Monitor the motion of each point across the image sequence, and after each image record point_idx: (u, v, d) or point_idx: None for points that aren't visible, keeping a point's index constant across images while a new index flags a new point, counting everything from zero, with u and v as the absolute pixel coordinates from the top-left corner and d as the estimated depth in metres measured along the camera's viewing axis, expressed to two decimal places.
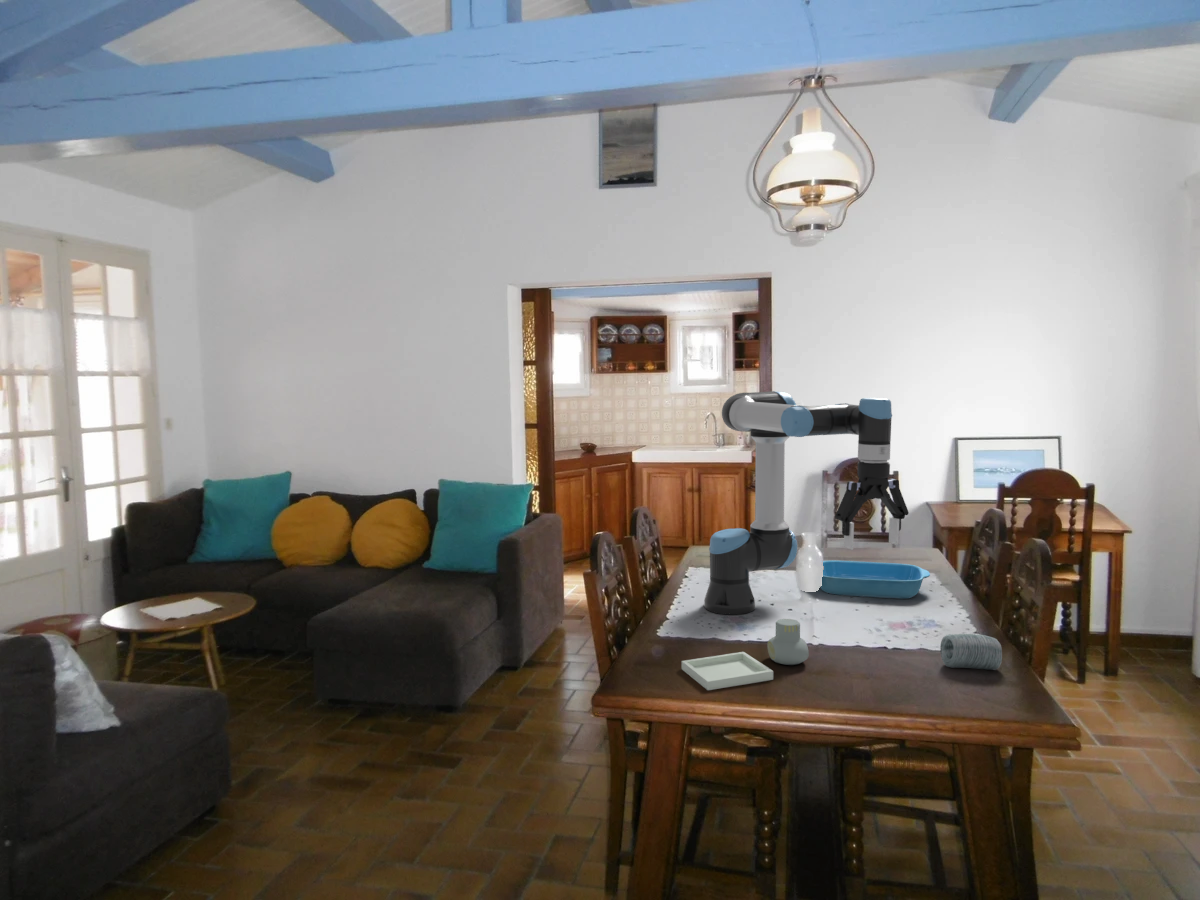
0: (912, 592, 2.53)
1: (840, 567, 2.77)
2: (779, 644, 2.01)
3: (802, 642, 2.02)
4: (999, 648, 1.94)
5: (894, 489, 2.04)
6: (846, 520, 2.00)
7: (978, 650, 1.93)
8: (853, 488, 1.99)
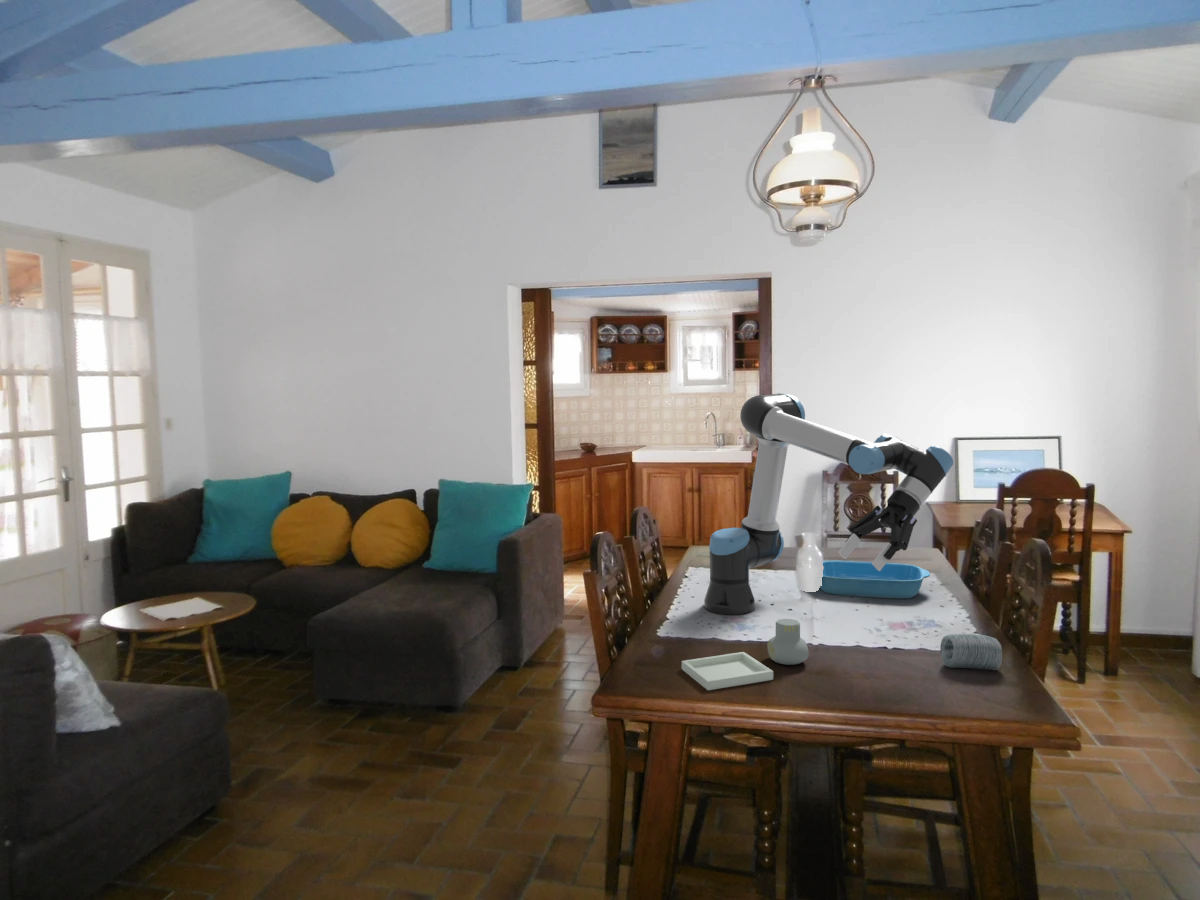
0: (912, 592, 2.53)
1: (840, 567, 2.77)
2: (779, 644, 2.01)
3: (802, 642, 2.02)
4: (999, 648, 1.94)
5: None
6: None
7: (978, 650, 1.93)
8: None
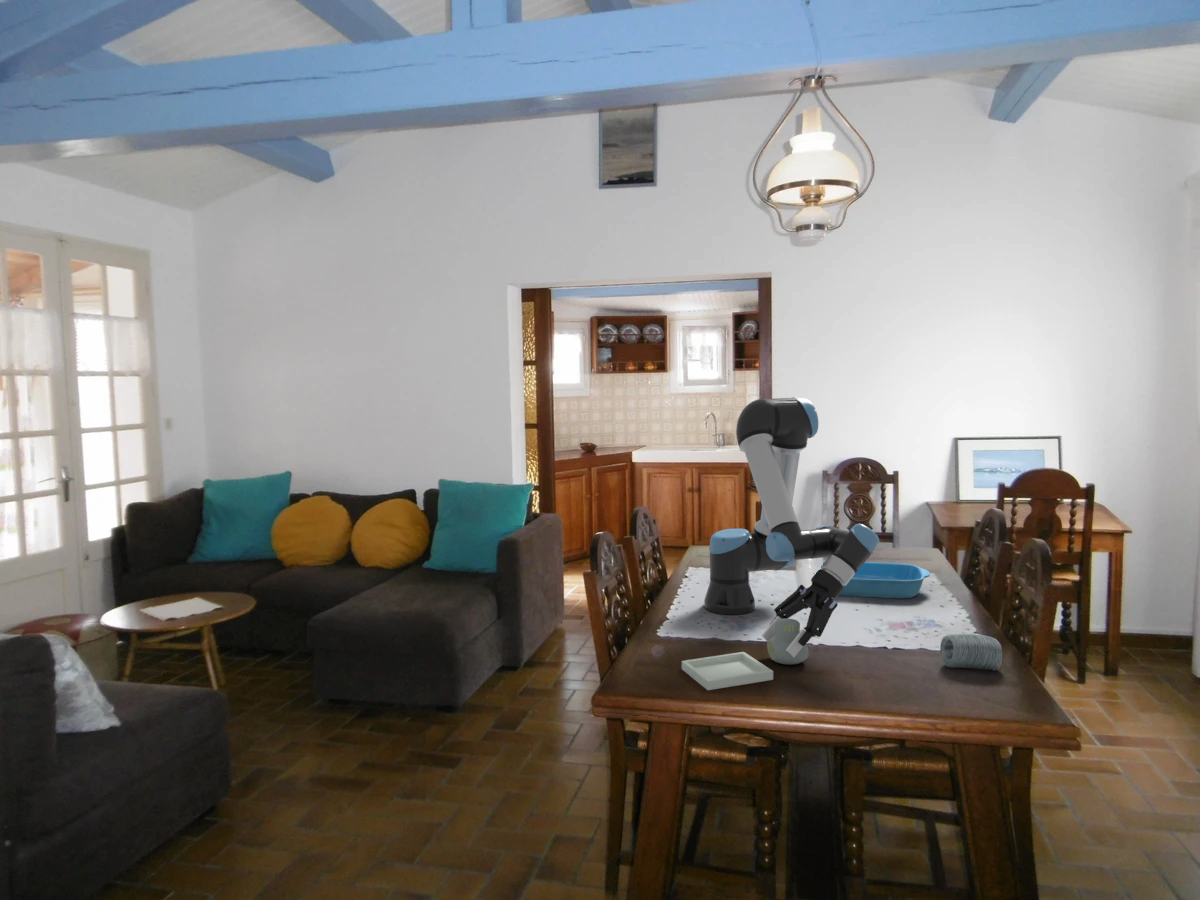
0: (913, 592, 2.53)
1: None
2: (779, 643, 2.01)
3: None
4: (999, 648, 1.94)
5: None
6: None
7: (978, 650, 1.93)
8: None
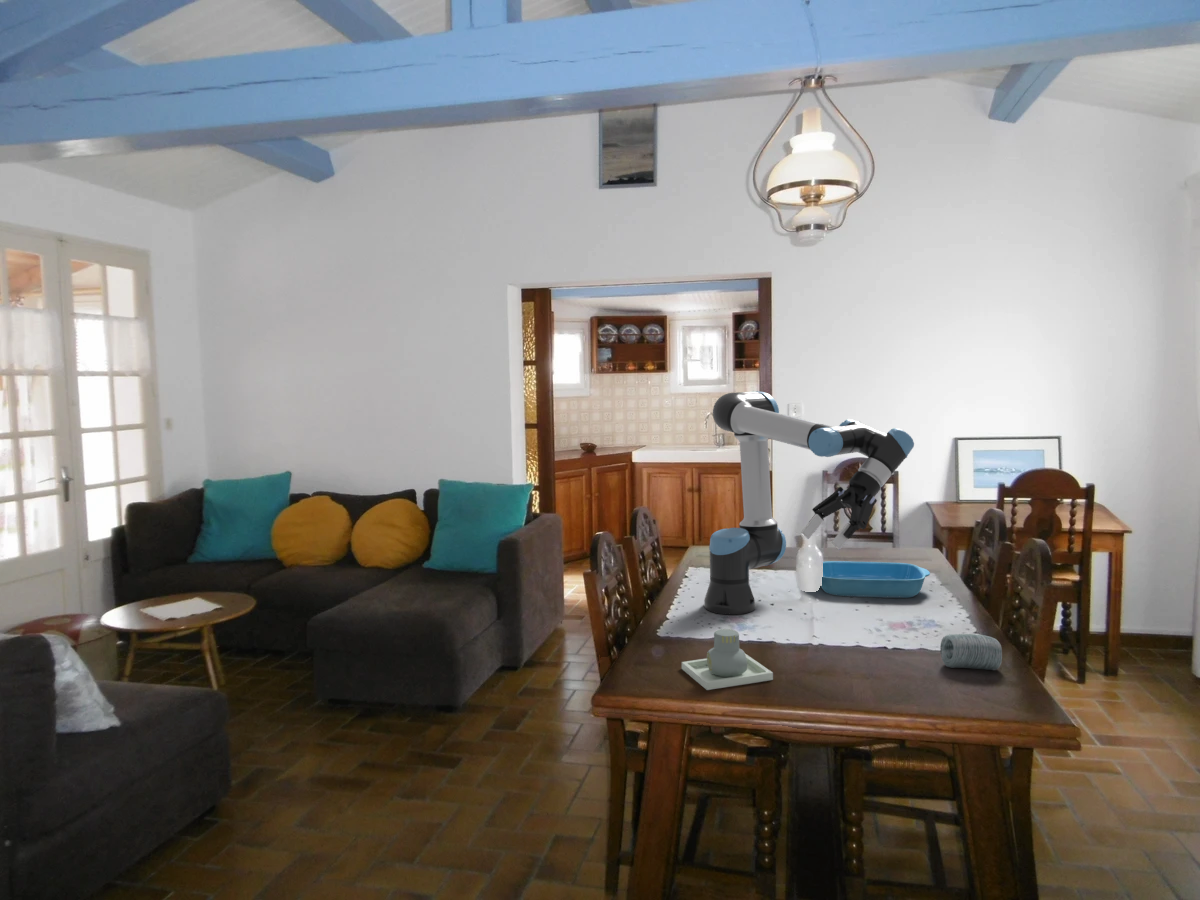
0: (915, 591, 2.54)
1: (837, 567, 2.76)
2: (716, 655, 1.93)
3: (741, 653, 1.94)
4: (999, 648, 1.94)
5: None
6: None
7: (978, 650, 1.93)
8: None
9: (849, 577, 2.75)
